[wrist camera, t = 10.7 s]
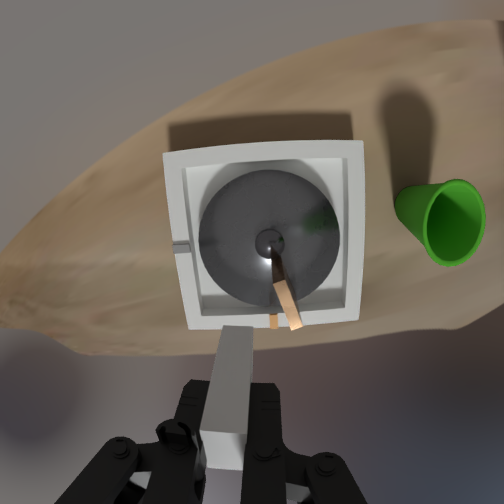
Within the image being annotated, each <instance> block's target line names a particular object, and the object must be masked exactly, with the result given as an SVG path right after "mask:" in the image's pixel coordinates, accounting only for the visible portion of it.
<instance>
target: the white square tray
mask: <svg viewBox="0 0 504 504" xmlns="http://www.w3.org/2000/svg"><path fill="white" fill-rule="evenodd" d="M163 164H164V174H165V183H166V192H167V201H168V209H169V217H170V224H171V231H172V238H173V245H172V246H173V252H174V254H175V258H176V264H177V270H178V276H179V281H180V287H181V293H182V298H183V303H184V308H185V313H186V318H187V323H188V328H189V330H196V329H222V327H223V325H231V326H253V328H267V327H270V329H278V327H284V326H290V325H289V323H288V320H287V318H286V315H285V313H284V310H283V308H282V305H280V306H268V307H267V306H257V305H252V304H248V303H245V302H242V301H240V300H238V299H236V298H234V297H232V296H231V295H229V294H227V293H226V292H225V291H224V290H222V289H221V288H220V287H219V286H218V285H217V284H216V283H215V282H214V281H213V279H212V278H211V277H210V275H209V274H208V272H207V270H206V268H205V266H204V264H203V261H202V259H201V255H200V251H199V242H198V237H199V227H200V222H201V219H202V216H203V213H204V211H205V209H206V207H207V205H208V203H209V202H210V200H211V199H212V197H213V196H214V195H215V194H216V193H217V192H218V191H219V190H220V189H221V188H222V187H223V186H224V185H225V184H227V183H228V182H230V181H232V180H233V179H235V178H237V177H239V176H241V175H243V174H246V173H249V172H252V171H257V170H266V169H273V170H282V171H286V172H290V173H293V174H295V175H298V176H300V177H302V178H304V179H306V180H308V181H309V182H311V183H312V184H313V185H315V186H316V187H317V188H318V189H319V190H320V191H321V192H322V193H323V194H324V195H325V197H326V198H327V199H328V200H329V202H330V204H331V206H332V207H333V209H334V212H335V214H336V217H337V220H338V224H339V230H340V246H339V252H338V256H337V259H336V262H335V264H334V266H333V268H332V270H331V272H330V274H329V275H328V277H327V278H326V279H325V280H324V282H323V283H322V284H321V285H320V286H319V287H318V288H317V289H316V290H314V291H313V292H312V293H310V294H309V295H307V296H306V297H304V298H302V299H300V300H298V301H297V302H298V306H299V311H300V315H301V320H302V324H303V325H311V324H323V323H334V322H343V321H353V320H358V319H359V310H360V300H361V289H362V276H363V260H364V237H365V170H364V147H363V141H359V140H296V141H273V142H256V143H243V144H232V145H221V146H212V147H203V148H195V149H188V150H181V151H174V152H167V153H163Z"/></svg>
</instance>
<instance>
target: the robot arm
mask: <svg viewBox="0 0 504 504" xmlns="http://www.w3.org/2000/svg"><path fill="white" fill-rule="evenodd" d="M252 368H253V326H231V325H223V327H222V332H221V336H220V340H219V345H218V349H217V354H216V358H215V362H214V367H213V372H212V376H211V380H210V381H202V380H192V379H191V380H190V381H189V382H188V383H187V384H186V385H185V386H184V388H183V391H182V394H181V398H180V400H179V405H178V407H177V410H176V413H175V416H174V419H169V420H166V421H164V422H162V423H161V424H159V425H158V427H157V428H156V433H157V436H158V438H159V441H158V442H155V443H146V444H136V443H135V442H134V441H133V440H131V439H130V438H126V437H115V438H112V439H110V440H109V441H107V442H106V443H105V445H104V446H103V447H102V448H101V449H100V451H99V452H98V453H97V454H96V455H95V456H94V458H93V459H92V460H91V461H90V462H89V463H88V465H87V466H86V467H85V468H84V469H83V471H82V472H81V473H80V474H79V476H77V478H76V479H75V480H74V481H73V482H72V484H71V485H70V486H69V487H68V488H67V489H66V491H65V492H64V493H63V494H62V495H61V496H60V498H59V499H58V500H57V501H56V502H55V503H54V504H202V501H203V495H204V489H205V483H206V475H205V469H206V463H207V467H208V468H217V469H230V470H243V477H242V490H241V502H240V504H287V502H286V499H289V500H293V501H297V503H298V504H367V502H366V500H365V498H364V496H363V494H362V493H361V491H360V489H359V487H358V486H357V484H356V482H355V480H354V478H353V476H352V474H351V473H350V471H349V469H348V467H347V465H346V464H345V461H344V460H343V459H342V458H341V457H340V456H338V455H336V454H334V453H329V452H323V453H318V454H316V455H314V456H312V457H310V456H305V455H300V454H296V453H294V452H292V451H291V450H289V449H288V448H287V447H286V446H285V444H284V443H283V439H282V425H281V405H280V391H279V390H278V388H277V387H276V385H275V384H274V383H252Z"/></svg>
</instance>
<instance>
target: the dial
mask: <svg viewBox="0 0 504 504" xmlns="http://www.w3.org/2000/svg"><path fill="white" fill-rule="evenodd" d="M198 242H199V251H200V255H201V259H202V261H203V264H204V266H205V268H206V270H207V272H208V274H209V275H210V277H211V278H212V279H213V281H214V282H215V283H216V284H217V285H218V286H219V287H220V288H221V289H222V290H224V291H225V292H226V293H227V294H229V295H231V296H232V297H234V298H236V299H238V300H240V301H242V302H245V303H248V304H252V305H257V306H267V307H268V306H280V305H282V308H283V310H284V313H285V315H286V318H287V320H288V323H289V325H290V328H291V330H294V329H297V328H300V327H303V324H302V320H301V315H300V311H299V306H298V302H297V301H298V300H300V299H302V298H304V297H306V296H307V295H309V294H310V293H312V292H313V291H314V290H316V289H317V288H318V287H319V286H320V285H321V284H322V283H323V282H324V280H325V279H326V278H327V277H328V275H329V274H330V272H331V270H332V268H333V266H334V264H335V262H336V259H337V256H338V252H339V246H340V230H339V224H338V220H337V217H336V214H335V212H334V209H333V207H332V206H331V204H330V202H329V200H328V199H327V198H326V197H325V195H324V194H323V193H322V192H321V191H320V190H319V189H318V188H317V187H316V186H315V185H313V184H312V183H311V182H309V181H308V180H306V179H304V178H302V177H300V176H298V175H295V174H293V173H290V172H286V171H282V170H273V169H266V170H257V171H252V172H249V173H246V174H243V175H241V176H239V177H237V178H235V179H233V180H232V181H230V182H228V183H227V184H225V185H224V186H223V187H222V188H221V189H220V190H219V191H218V192H217V193H216V194H215V195H214V196H213V197H212V199H211V200H210V202H209V203H208V205H207V207H206V209H205V211H204V213H203V216H202V219H201V222H200V227H199V237H198Z"/></svg>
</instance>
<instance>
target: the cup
mask: <svg viewBox="0 0 504 504" xmlns="http://www.w3.org/2000/svg"><path fill="white" fill-rule="evenodd" d="M395 212H396V215H397V217H398V219H399V220H400V221H401V222H402V223H403V224H404V225H405V226H406V227H407V228H408V230H409V231H410V232H411V233H412V234H413V235H414V236H415V237H416V238H417V239H418V240H419V241H420V242H421V243H422V244H423V245H424V246H425V248H426V251H427V253H428V255H429V256H430V257H431V258H432V259H433V261H435V262H436V263H438V264H439V265H443V266H447V267H449V266H456V265H459V264H461V263H463V262H465V261H466V260H467V259H469V258H470V257H471V256H472V255H473V253H474V252H475V251H476V249H477V248H478V246H479V244H480V242H481V240H482V237H483V234H484V229H485V219H486V214H485V208H484V203H483V201H482V198H481V196H480V194H479V193H478V191H477V190H476V188H475V187H474V186H473V185H471V184H470V183H469V182H467V181H465V180H462V179H453V180H449V181H446V182H445V183H439V184H428V185H418V186H409V187H406V188H404V189H403V190H402V191H401V192H400V193H399V194H398V196H397V198H396V201H395Z"/></svg>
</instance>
